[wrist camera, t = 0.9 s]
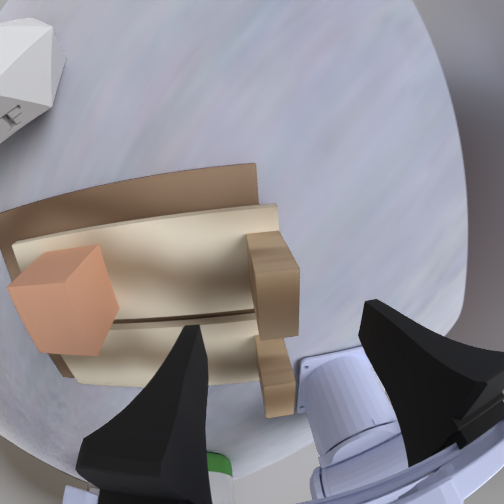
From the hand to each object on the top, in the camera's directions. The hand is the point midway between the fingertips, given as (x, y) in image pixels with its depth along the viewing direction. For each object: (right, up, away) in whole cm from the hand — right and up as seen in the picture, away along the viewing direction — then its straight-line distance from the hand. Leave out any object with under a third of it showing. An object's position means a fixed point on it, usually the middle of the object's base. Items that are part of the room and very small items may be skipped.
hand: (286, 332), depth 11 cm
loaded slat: (-10, +3, +7) cm, 12 cm away
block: (-14, +1, +5) cm, 15 cm away
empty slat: (-9, -5, +11) cm, 15 cm away
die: (-17, +16, +1) cm, 23 cm away
